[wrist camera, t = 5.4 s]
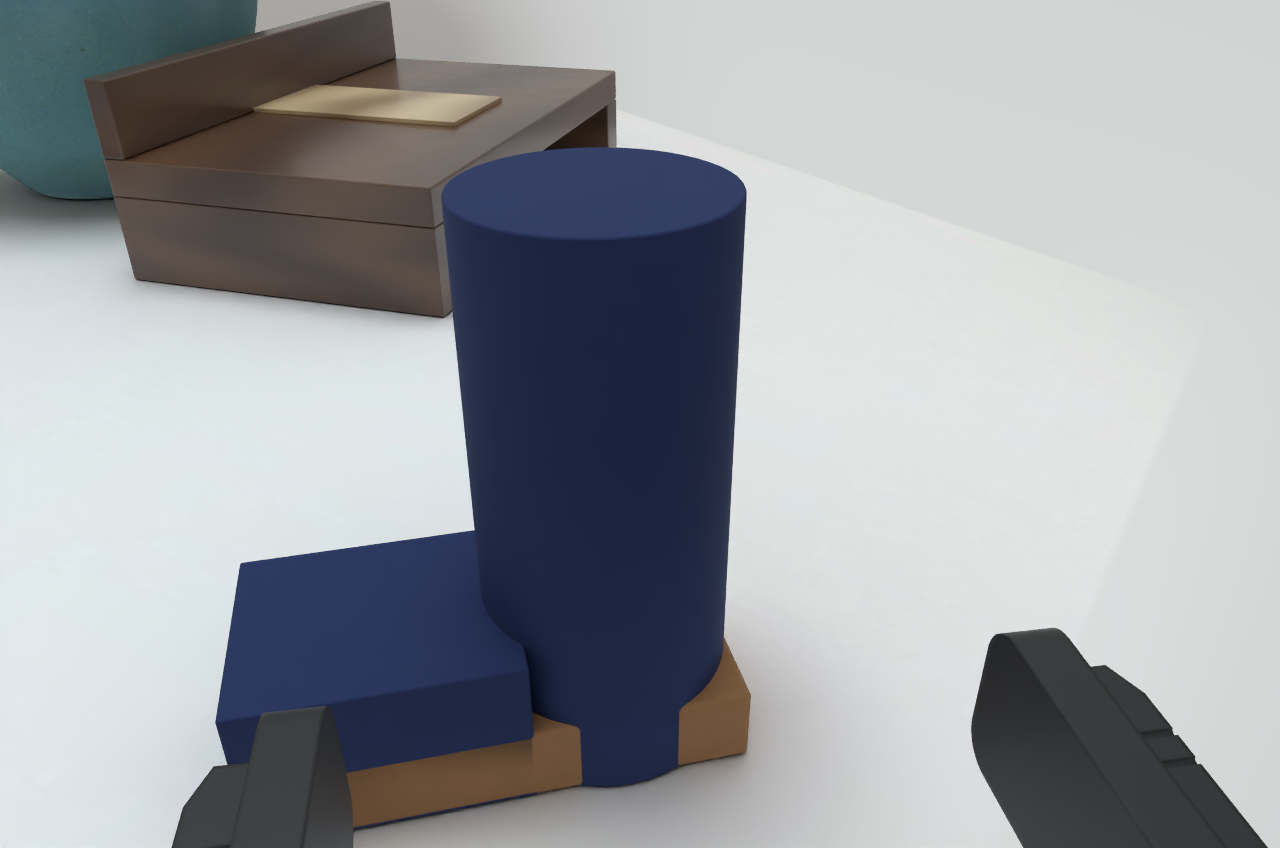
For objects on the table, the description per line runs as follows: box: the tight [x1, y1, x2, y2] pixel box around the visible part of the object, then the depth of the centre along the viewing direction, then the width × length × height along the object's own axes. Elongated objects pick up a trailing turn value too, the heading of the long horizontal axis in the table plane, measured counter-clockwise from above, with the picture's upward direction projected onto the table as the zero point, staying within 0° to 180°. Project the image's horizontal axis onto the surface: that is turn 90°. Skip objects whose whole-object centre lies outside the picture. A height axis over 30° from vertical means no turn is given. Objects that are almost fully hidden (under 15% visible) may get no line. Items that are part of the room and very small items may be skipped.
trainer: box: [215, 147, 751, 830], centre depth 18 cm, size 9×5×11 cm, turn 104°
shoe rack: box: [83, 1, 616, 317], centre depth 47 cm, size 14×22×8 cm, turn 164°
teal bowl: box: [0, 0, 257, 199], centre depth 52 cm, size 18×18×12 cm
